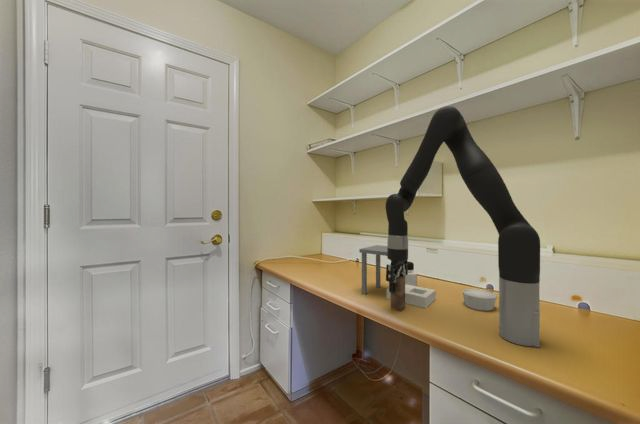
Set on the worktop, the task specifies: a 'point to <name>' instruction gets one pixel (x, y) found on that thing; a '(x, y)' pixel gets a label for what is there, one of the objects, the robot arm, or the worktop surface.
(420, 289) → the socket block
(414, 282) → the medicine bottle
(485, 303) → the ramekin
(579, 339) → the worktop surface
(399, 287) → the peg
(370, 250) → the grey miniature table
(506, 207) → the robot arm
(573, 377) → the worktop surface
